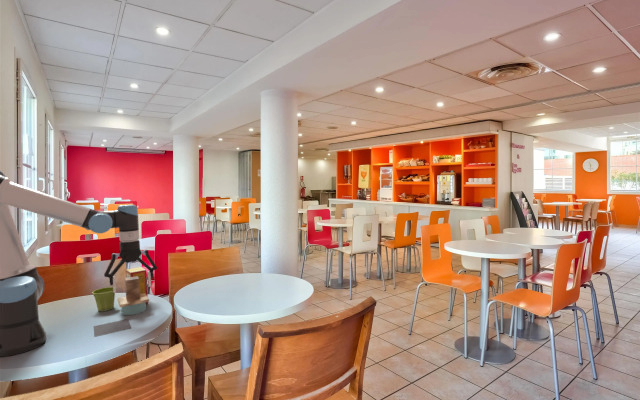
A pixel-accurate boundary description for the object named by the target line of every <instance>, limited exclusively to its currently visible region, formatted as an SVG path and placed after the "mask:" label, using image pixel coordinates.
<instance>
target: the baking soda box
mask: <svg viewBox="0 0 640 400" xmlns="http://www.w3.org/2000/svg"><path fill="white" fill-rule="evenodd" d="M136 276H138V278H139V285H140V294H143V293H146V295H147V297H148V298H149V296H148V276H147V270H146V269H145V268H143V267H142V266H139V267H132V268H126V269H125V278H129V277H136ZM146 304H149V302H146Z"/></svg>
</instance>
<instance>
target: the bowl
mask: <svg viewBox="0 0 640 400" xmlns="http://www.w3.org/2000/svg"><path fill="white" fill-rule="evenodd" d="M120 308H121V314H122V315H123V316H132V315H136V314H141V313H143V312H145V311H146V310H147V303H146V302H145V303H140V304H135V305H129V306H124V307H120Z"/></svg>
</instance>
